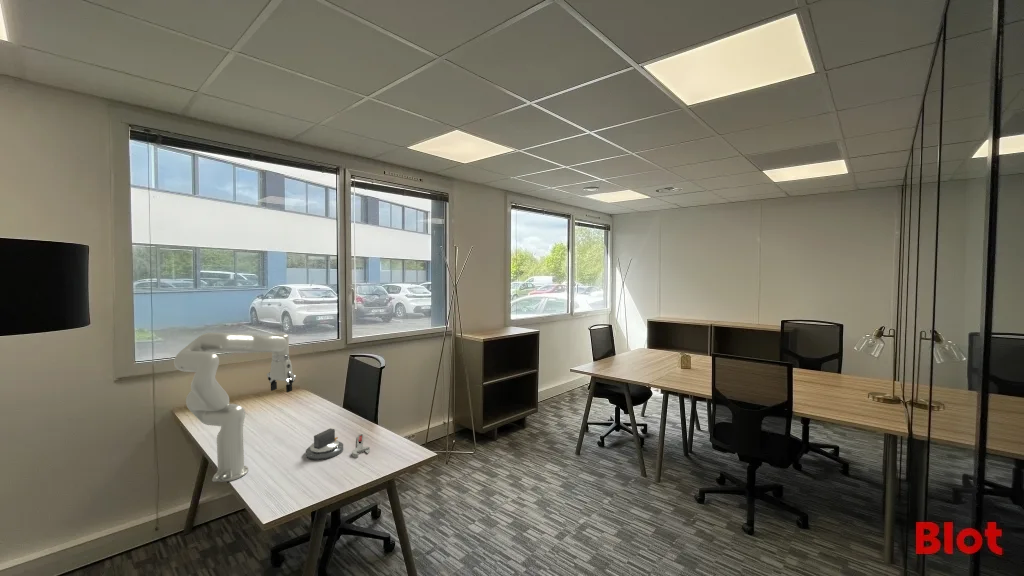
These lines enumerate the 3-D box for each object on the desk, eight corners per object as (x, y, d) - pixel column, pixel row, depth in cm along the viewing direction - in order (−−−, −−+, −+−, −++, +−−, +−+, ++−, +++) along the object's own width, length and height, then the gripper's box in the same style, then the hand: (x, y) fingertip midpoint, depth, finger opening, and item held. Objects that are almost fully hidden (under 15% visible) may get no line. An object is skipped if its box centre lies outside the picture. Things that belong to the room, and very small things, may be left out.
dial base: (336, 459, 190) (336, 454, 190) (299, 461, 188) (299, 456, 188) (347, 443, 207) (347, 439, 207) (314, 445, 205) (313, 440, 205)
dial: (323, 455, 189) (323, 439, 188) (304, 450, 194) (303, 435, 193) (347, 442, 202) (346, 428, 202) (327, 438, 207) (327, 424, 207)
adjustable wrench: (374, 435, 218) (373, 431, 218) (368, 457, 193) (368, 452, 193) (358, 437, 216) (358, 433, 216) (350, 459, 191) (350, 454, 191)
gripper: (300, 357, 205) (301, 389, 206) (273, 355, 210) (273, 387, 210) (288, 360, 198) (289, 394, 199) (260, 358, 202) (261, 391, 203)
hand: (281, 390), depth 205 cm, fingers open, 9 cm apart
